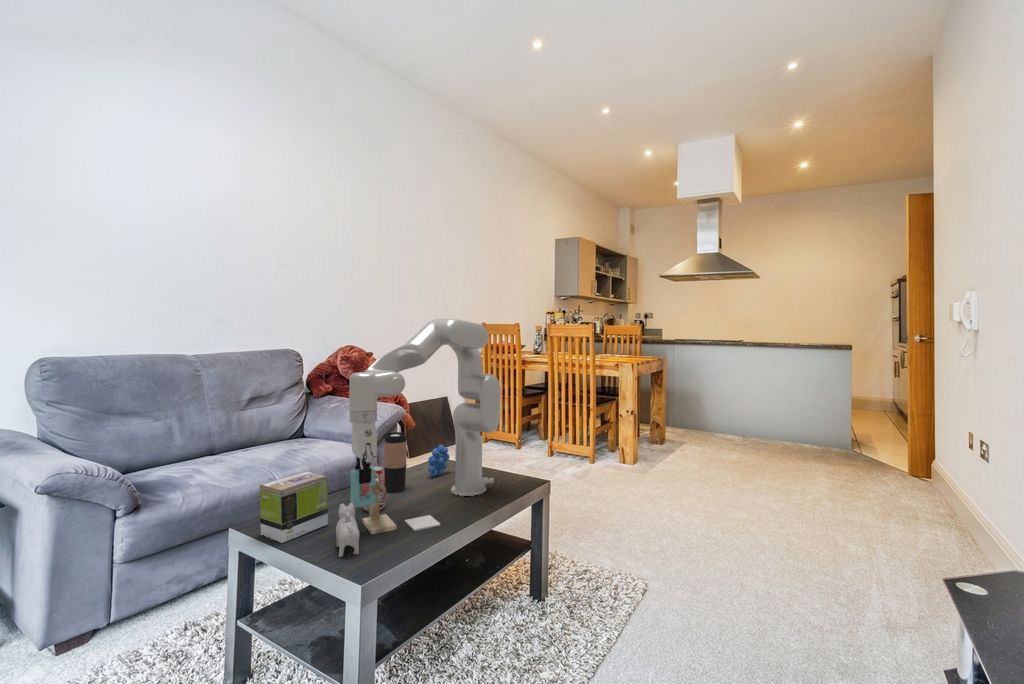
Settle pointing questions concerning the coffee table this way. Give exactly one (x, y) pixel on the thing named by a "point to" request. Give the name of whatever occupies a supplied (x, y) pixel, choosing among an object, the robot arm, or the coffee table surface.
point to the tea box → (293, 506)
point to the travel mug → (395, 461)
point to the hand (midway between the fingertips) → (363, 480)
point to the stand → (376, 521)
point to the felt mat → (422, 522)
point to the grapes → (438, 460)
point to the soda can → (365, 488)
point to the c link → (355, 490)
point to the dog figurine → (347, 529)
